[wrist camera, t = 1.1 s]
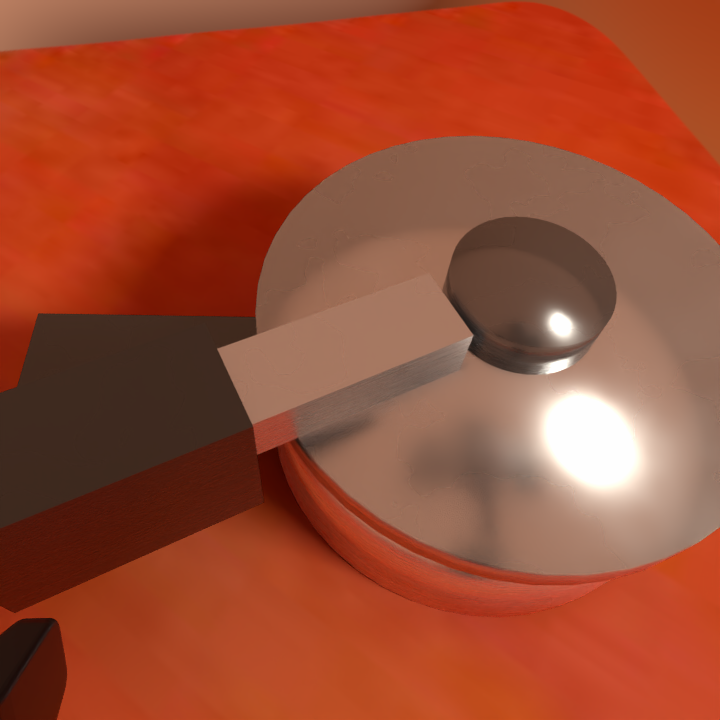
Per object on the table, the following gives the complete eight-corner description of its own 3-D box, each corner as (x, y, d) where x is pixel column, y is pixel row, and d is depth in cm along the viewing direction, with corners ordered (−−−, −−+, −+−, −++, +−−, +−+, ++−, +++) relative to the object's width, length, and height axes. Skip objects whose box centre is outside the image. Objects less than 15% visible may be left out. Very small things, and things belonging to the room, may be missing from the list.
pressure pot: (659, 267, 31) (720, 180, 27) (786, 609, 23) (910, 570, 18) (103, 253, 29) (66, 156, 24) (15, 628, 21) (-68, 588, 16)
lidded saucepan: (548, 146, 29) (591, 39, 24) (841, 455, 21) (975, 379, 17) (-49, 330, 21) (-136, 221, 17) (80, 908, 14) (-18, 972, 10)
